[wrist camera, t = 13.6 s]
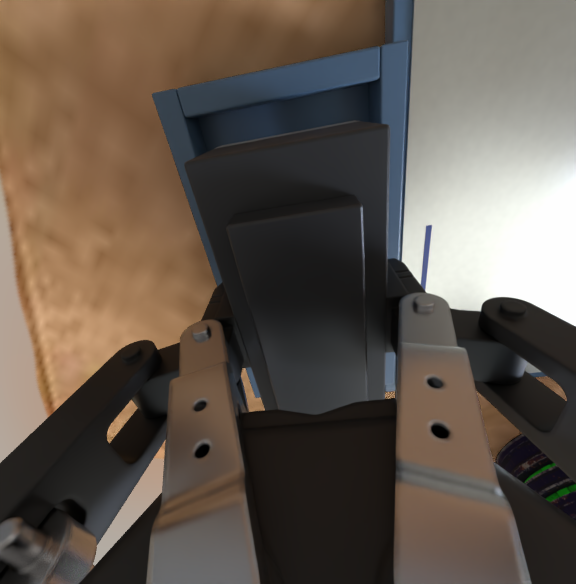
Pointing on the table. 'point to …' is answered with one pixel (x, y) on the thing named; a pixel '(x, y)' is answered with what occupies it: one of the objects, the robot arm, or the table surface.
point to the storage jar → (539, 473)
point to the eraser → (304, 258)
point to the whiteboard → (489, 151)
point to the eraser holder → (293, 118)
